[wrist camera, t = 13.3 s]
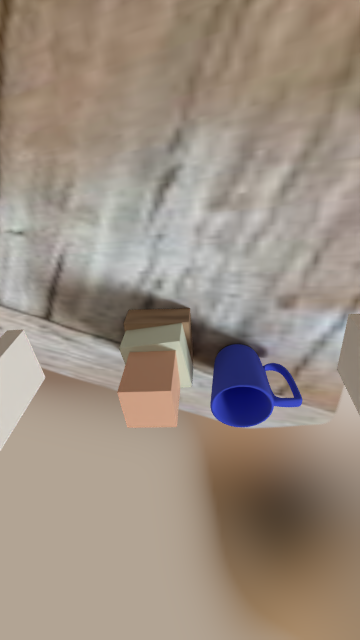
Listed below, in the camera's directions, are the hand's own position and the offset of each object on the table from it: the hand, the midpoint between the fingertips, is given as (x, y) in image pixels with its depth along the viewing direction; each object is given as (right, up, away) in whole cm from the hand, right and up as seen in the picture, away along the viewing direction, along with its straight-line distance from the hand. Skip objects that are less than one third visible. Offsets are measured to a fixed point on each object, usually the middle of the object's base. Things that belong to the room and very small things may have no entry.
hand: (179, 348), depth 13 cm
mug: (+11, -5, +37) cm, 39 cm away
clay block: (-3, -5, +29) cm, 30 cm away
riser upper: (-3, -3, +32) cm, 33 cm away
